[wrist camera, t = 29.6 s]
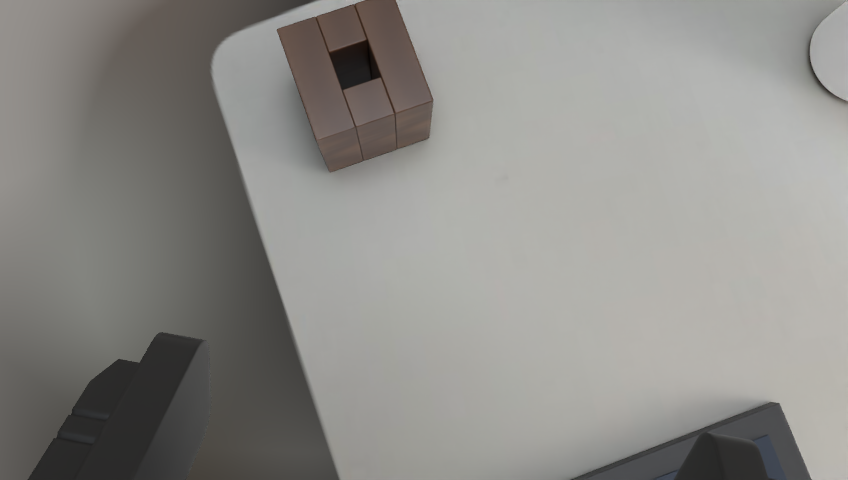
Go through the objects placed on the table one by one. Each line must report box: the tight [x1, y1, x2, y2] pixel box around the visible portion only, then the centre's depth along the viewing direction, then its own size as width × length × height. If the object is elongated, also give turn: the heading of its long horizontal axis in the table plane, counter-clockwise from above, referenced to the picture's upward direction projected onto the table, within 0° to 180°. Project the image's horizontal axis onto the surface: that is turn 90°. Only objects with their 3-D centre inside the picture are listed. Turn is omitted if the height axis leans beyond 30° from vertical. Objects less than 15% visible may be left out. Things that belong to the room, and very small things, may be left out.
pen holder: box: [277, 0, 433, 172], centre depth 43 cm, size 7×7×7 cm
